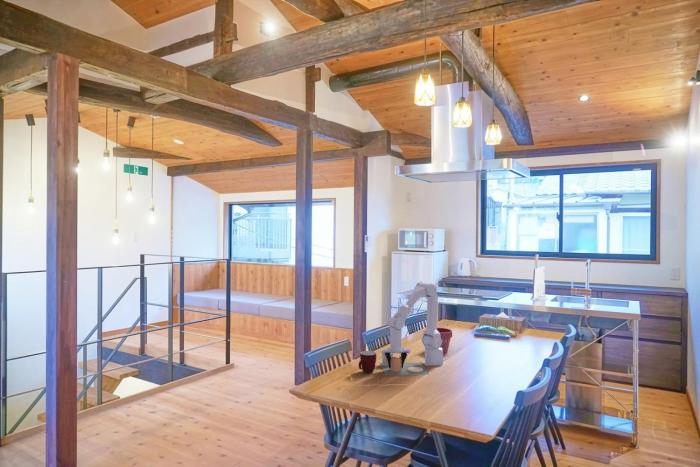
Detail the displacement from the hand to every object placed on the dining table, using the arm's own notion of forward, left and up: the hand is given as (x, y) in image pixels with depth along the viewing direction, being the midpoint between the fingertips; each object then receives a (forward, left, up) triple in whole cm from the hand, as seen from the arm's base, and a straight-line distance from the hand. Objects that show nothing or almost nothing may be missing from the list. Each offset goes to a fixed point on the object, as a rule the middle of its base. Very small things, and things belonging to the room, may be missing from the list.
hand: (395, 367), depth 229 cm
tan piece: (0, 0, -1) cm, 1 cm away
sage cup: (+3, -9, -1) cm, 10 cm away
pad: (-10, 0, -1) cm, 10 cm away
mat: (-4, -2, -2) cm, 5 cm away
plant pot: (-32, -36, -2) cm, 48 cm away
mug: (+15, +3, -2) cm, 15 cm away
